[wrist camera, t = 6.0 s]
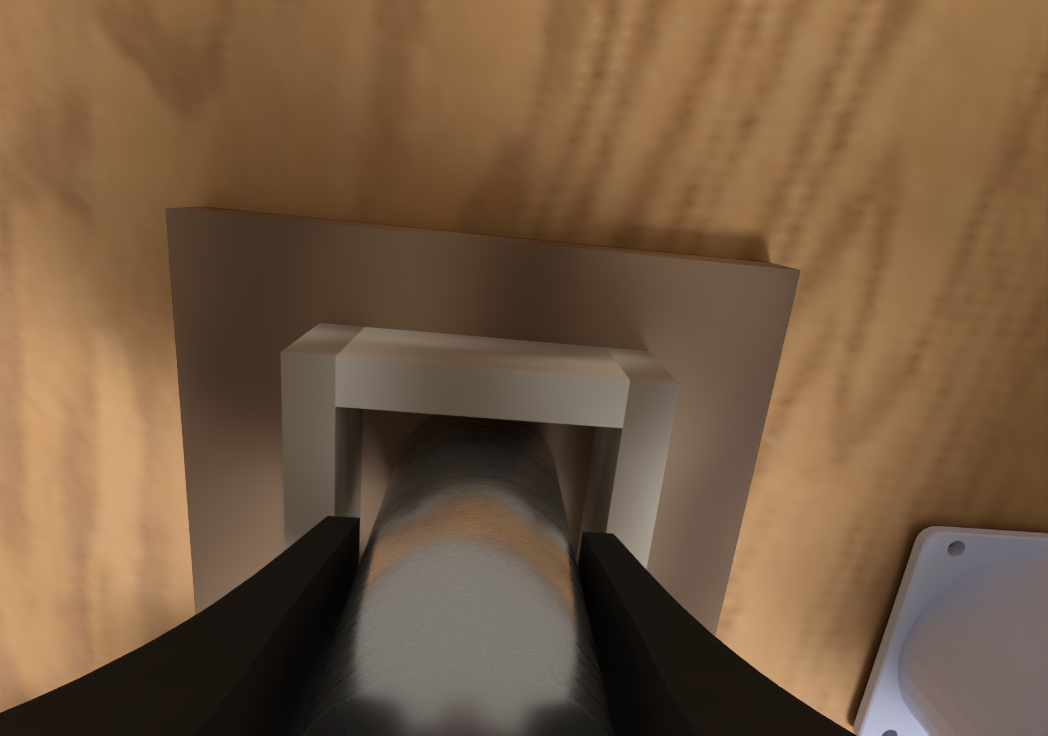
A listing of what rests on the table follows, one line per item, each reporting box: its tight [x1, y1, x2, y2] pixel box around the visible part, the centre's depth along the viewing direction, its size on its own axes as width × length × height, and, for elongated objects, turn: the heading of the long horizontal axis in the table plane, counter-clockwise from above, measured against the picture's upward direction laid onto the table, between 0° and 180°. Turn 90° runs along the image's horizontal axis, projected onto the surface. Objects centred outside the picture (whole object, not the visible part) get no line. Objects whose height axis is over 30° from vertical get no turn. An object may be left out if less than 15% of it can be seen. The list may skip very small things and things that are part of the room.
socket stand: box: [166, 207, 800, 636], centre depth 12 cm, size 14×19×10 cm
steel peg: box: [299, 414, 615, 736], centre depth 11 cm, size 4×4×8 cm
